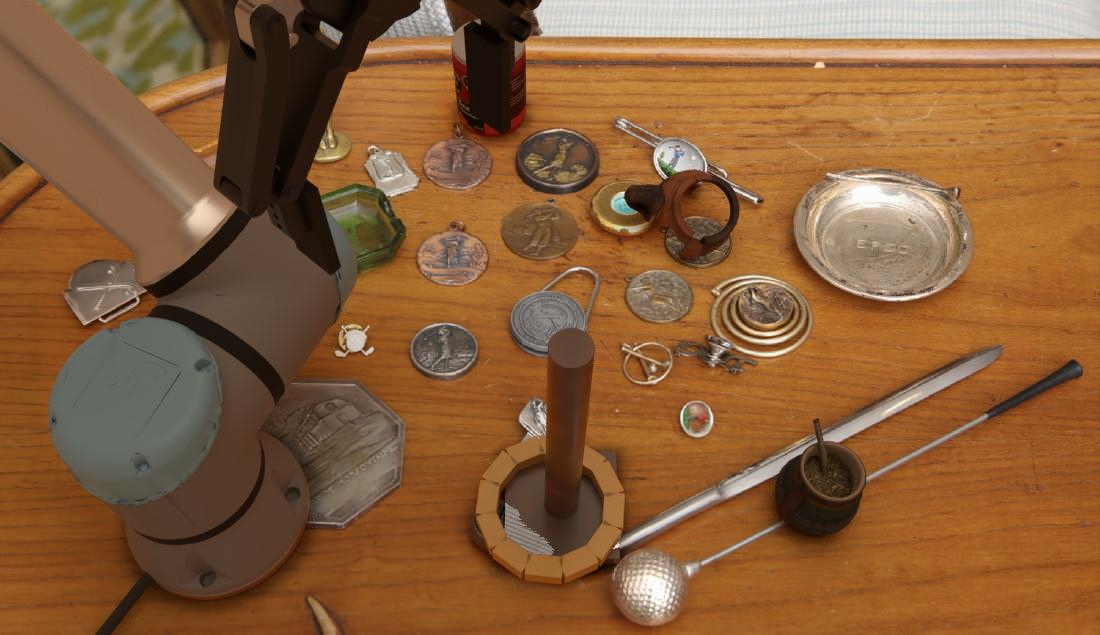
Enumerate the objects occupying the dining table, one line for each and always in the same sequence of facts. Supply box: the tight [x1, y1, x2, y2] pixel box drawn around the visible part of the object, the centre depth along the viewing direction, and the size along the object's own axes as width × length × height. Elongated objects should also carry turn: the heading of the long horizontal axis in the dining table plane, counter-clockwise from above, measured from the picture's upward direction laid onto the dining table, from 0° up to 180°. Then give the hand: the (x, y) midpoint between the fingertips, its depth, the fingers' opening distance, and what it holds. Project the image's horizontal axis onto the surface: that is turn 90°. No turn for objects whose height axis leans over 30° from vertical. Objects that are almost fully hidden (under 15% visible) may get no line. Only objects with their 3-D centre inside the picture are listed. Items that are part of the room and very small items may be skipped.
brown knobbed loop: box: [623, 169, 741, 260], centre depth 97 cm, size 12×10×8 cm
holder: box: [503, 327, 621, 565], centre depth 70 cm, size 10×10×28 cm
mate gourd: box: [774, 417, 868, 538], centre depth 78 cm, size 7×8×10 cm
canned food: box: [450, 18, 527, 138], centre depth 103 cm, size 8×8×11 cm
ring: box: [474, 434, 626, 585], centre depth 79 cm, size 13×13×2 cm
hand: (409, 186), depth 52 cm, fingers open, 13 cm apart
